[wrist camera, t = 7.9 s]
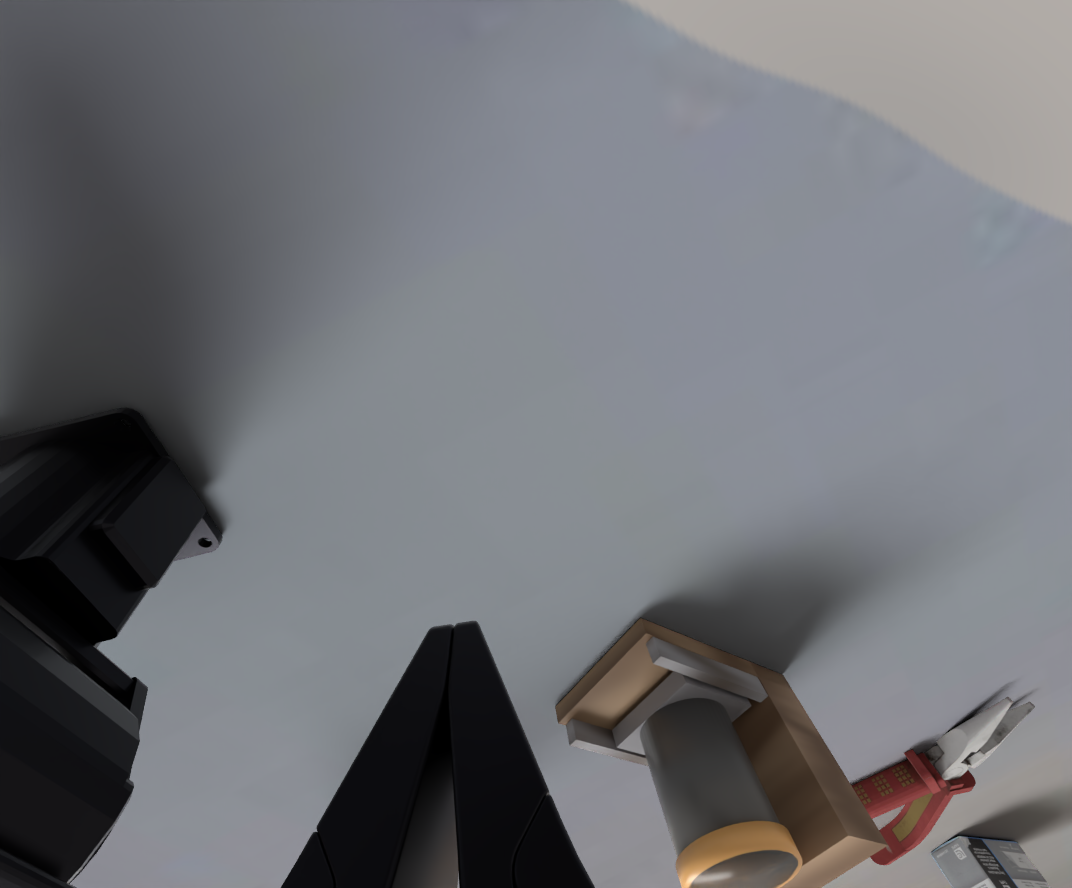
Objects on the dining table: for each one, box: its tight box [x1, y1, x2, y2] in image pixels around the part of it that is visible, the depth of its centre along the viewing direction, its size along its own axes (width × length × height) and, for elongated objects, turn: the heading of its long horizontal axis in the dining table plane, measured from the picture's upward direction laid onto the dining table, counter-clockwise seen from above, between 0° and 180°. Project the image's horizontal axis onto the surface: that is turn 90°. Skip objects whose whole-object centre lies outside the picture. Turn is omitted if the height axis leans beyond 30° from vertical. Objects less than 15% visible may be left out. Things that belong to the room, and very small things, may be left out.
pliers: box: [852, 697, 1035, 865], centre depth 40 cm, size 12×20×3 cm, turn 154°
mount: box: [555, 618, 888, 888], centre depth 27 cm, size 12×8×9 cm
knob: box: [612, 671, 802, 888], centre depth 27 cm, size 5×6×8 cm
